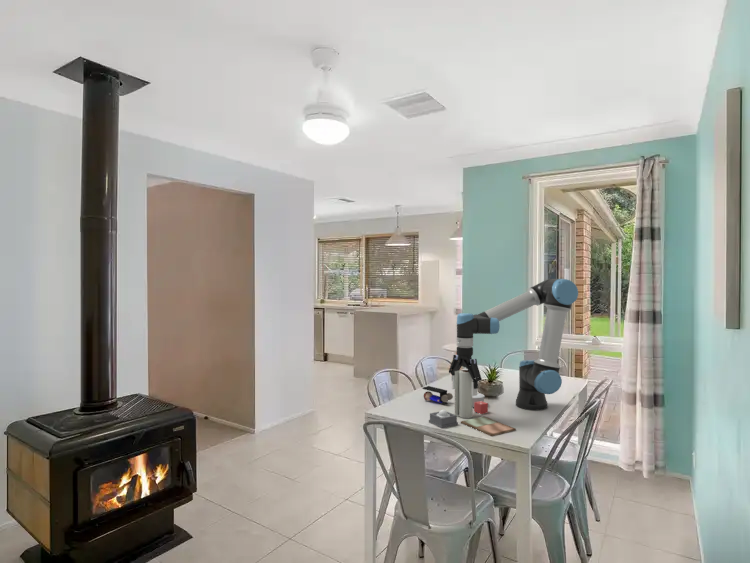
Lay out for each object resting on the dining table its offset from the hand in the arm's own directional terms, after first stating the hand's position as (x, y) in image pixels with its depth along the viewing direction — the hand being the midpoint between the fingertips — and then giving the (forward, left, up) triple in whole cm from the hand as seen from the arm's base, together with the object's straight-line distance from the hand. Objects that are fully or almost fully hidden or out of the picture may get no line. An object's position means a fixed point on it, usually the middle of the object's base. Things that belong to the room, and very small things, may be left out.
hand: (464, 392), depth 210 cm
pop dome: (+15, +3, -10) cm, 18 cm away
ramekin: (-16, -12, -12) cm, 23 cm away
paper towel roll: (0, 0, -12) cm, 12 cm away
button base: (+15, +3, -11) cm, 19 cm away
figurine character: (-3, -25, -12) cm, 28 cm away
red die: (-11, -1, -11) cm, 16 cm away
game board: (+1, +16, -11) cm, 20 cm away
